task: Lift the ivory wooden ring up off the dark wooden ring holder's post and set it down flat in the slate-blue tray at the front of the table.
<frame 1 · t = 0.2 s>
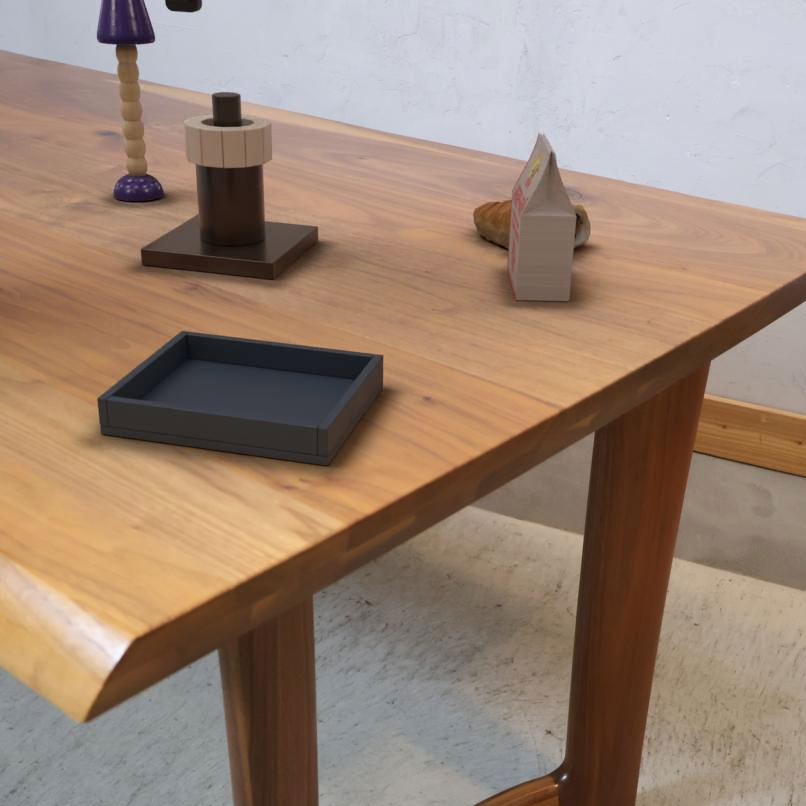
hand: (210, 5, 77), 18 cm above the table, tool pointing down, fingers open, 8 cm apart
holder: (233, 252, 86), on the table
toy lamp: (139, 197, 100), on the table
milk carton: (536, 287, 82), on the table
pastry: (531, 246, 91), on the table
tray: (249, 409, 61), on the table
ring: (229, 158, 83), point 7 cm above the table, touching holder
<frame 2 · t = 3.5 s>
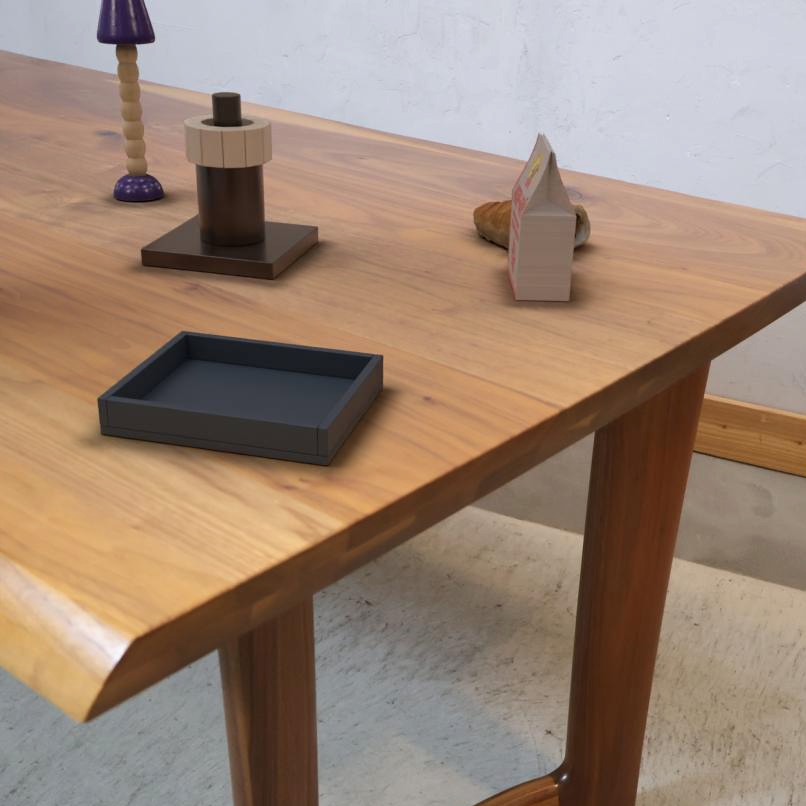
nothing on the table moved.
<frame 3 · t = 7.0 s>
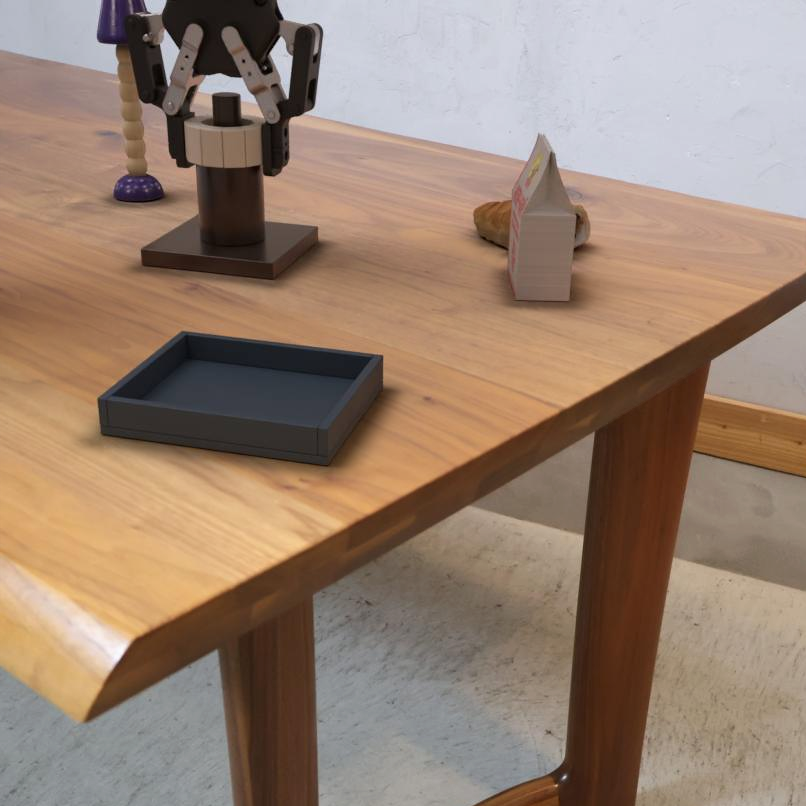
hand: (230, 169, 83), 6 cm above the table, tool pointing down, fingers closed on ring, 6 cm apart
ring: (229, 158, 83), point 7 cm above the table, touching gripper, holder
everything else where it was.
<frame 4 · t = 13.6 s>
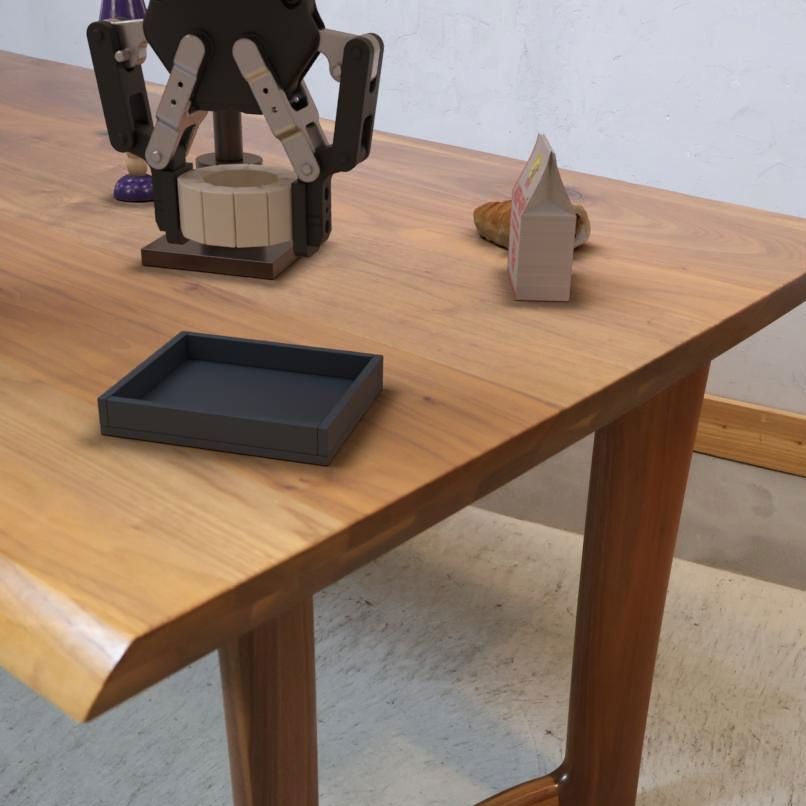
hand: (244, 245, 57), 9 cm above the table, tool pointing down, fingers closed on ring, 6 cm apart
ring: (243, 230, 57), point 10 cm above the table, touching gripper
everything else where it was.
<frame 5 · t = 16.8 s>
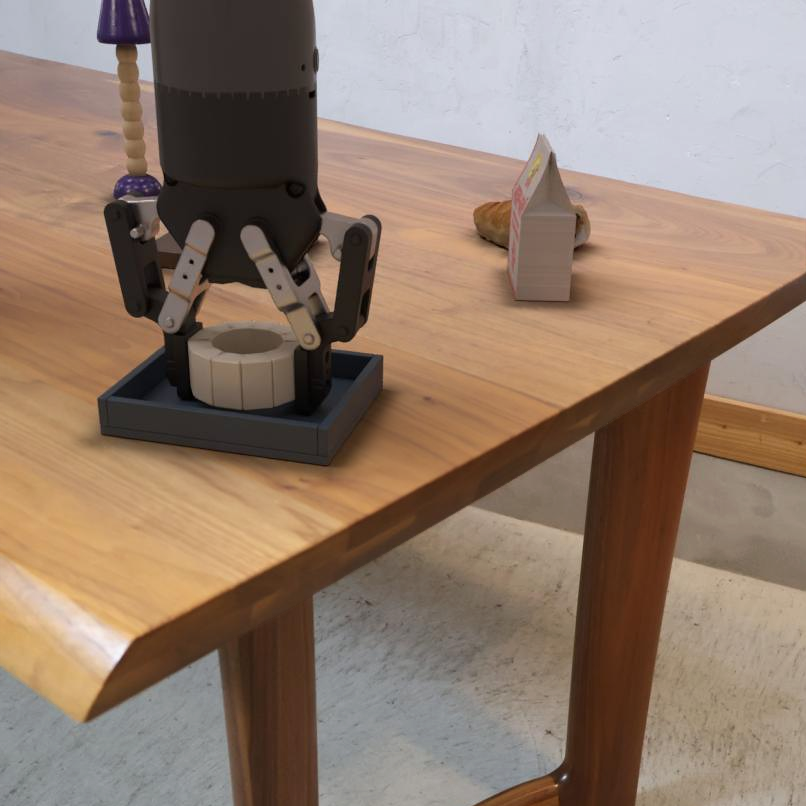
hand: (250, 400, 61), 1 cm above the table, tool pointing down, fingers closed on ring, 6 cm apart
ring: (249, 386, 61), point 1 cm above the table, touching gripper
everything else where it was.
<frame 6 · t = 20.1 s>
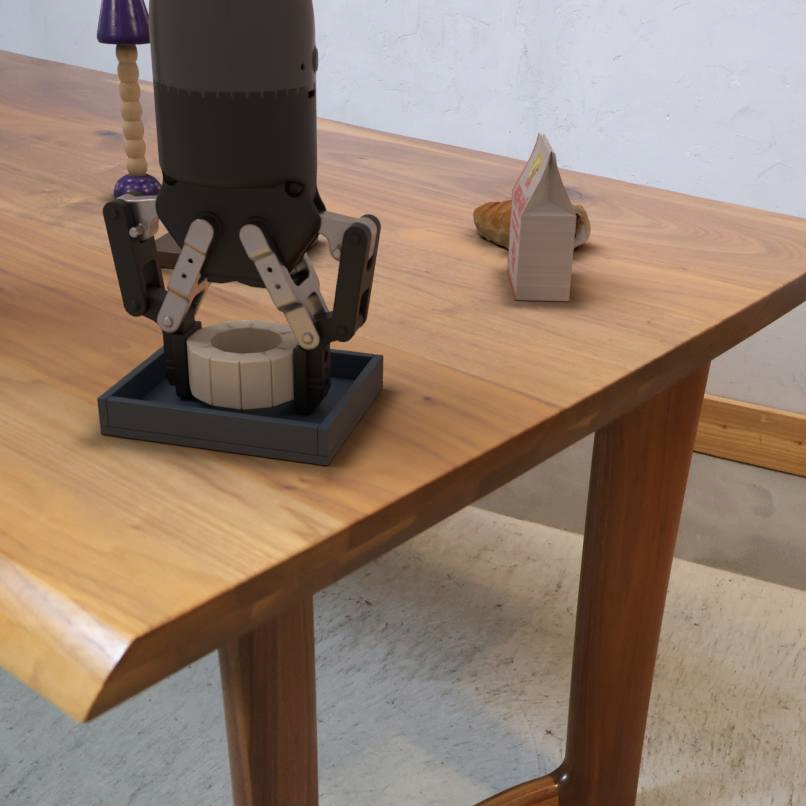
hand: (249, 399, 61), 1 cm above the table, tool pointing down, fingers closed on ring, 6 cm apart
ring: (248, 385, 61), point 1 cm above the table, touching gripper
everything else where it was.
when the fingers open (1 cm above the table, at t = 24.8 s): ring drops 2 cm, resting on tray.
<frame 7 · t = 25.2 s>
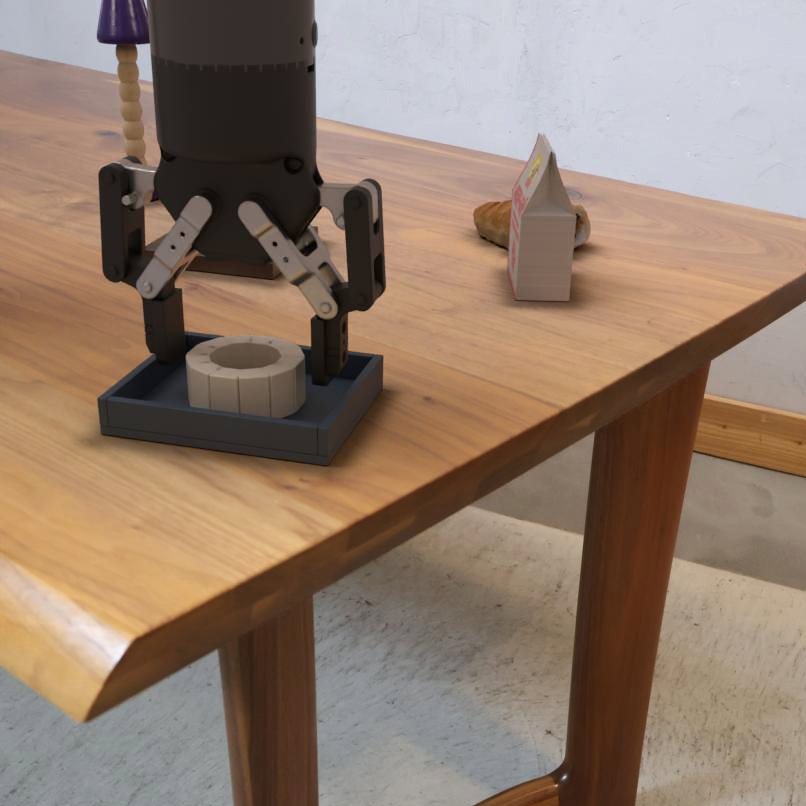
hand: (247, 370, 60), 2 cm above the table, tool pointing down, fingers open, 8 cm apart
ring: (247, 400, 61), resting on tray
everything else where it was.
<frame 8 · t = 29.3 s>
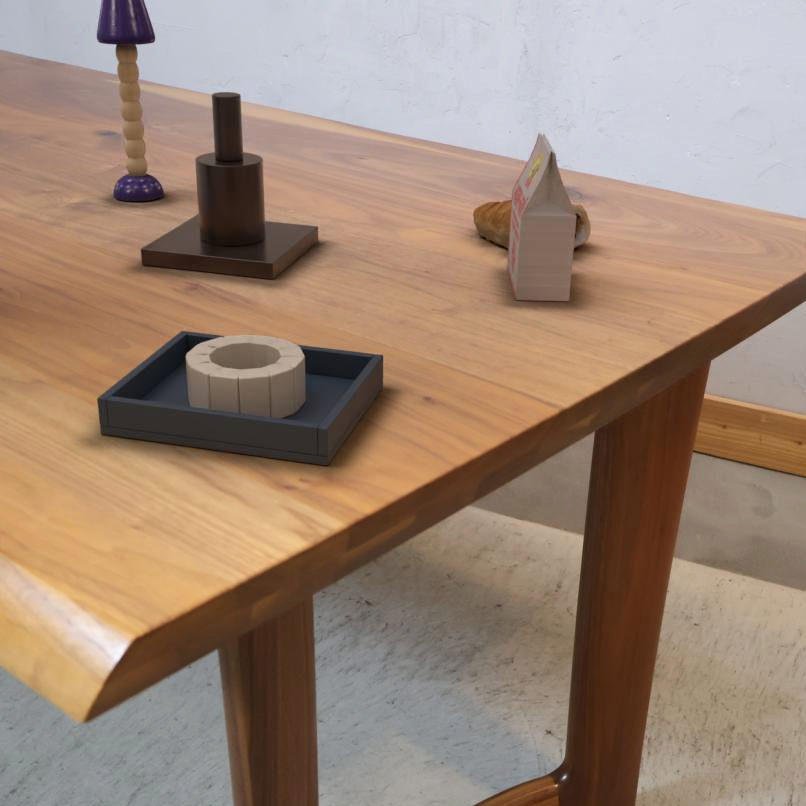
nothing on the table moved.
at the end: ring 0.1 cm off-centre in the tray, point 0.5 cm above the tray's base; ring touching tray; ring tilted 0° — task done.
